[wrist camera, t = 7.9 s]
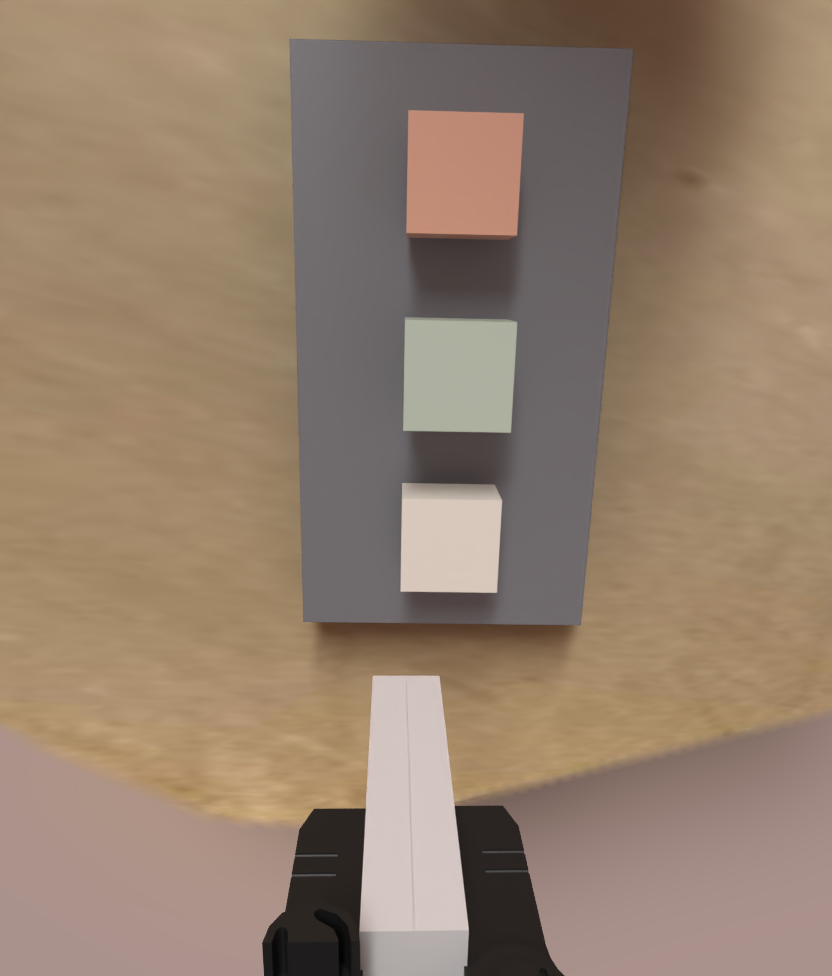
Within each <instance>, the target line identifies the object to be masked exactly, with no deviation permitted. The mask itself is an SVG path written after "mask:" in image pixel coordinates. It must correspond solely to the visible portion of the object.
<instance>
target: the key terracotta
mask: <svg viewBox="0 0 832 976" xmlns="http://www.w3.org/2000/svg"><path fill="white" fill-rule="evenodd" d="M523 120H524V113H494V112H457V111H420V110H408V163H407V223H406V238H446V239H489V240H509V239H511V238H513V237H515V236H517V227H518V209H519V191H520V174H521V156H522V138H523Z"/></svg>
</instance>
